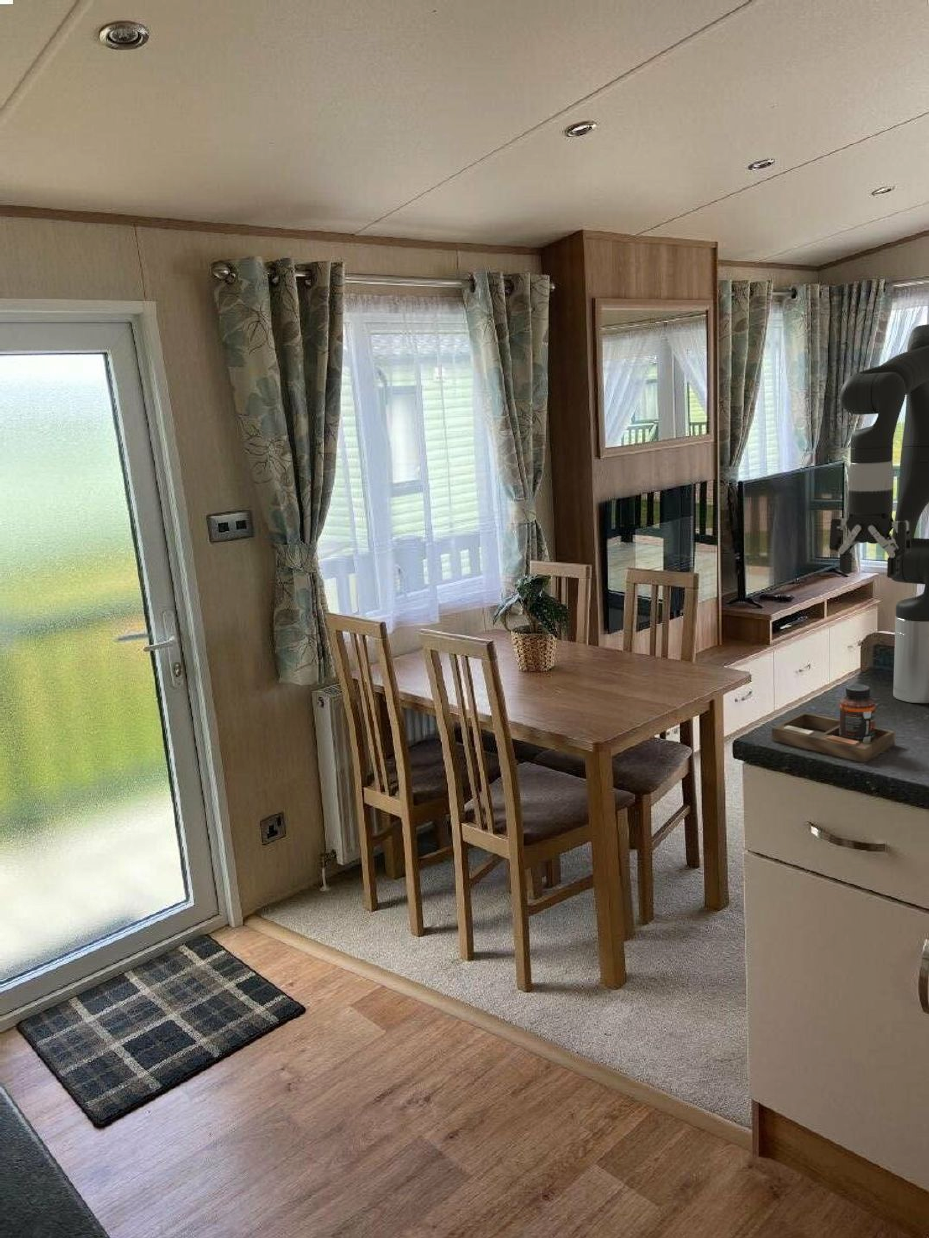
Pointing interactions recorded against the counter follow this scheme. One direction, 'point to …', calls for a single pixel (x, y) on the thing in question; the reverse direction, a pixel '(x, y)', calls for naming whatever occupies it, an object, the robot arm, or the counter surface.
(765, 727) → the counter surface
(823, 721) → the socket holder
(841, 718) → the supplement bottle
